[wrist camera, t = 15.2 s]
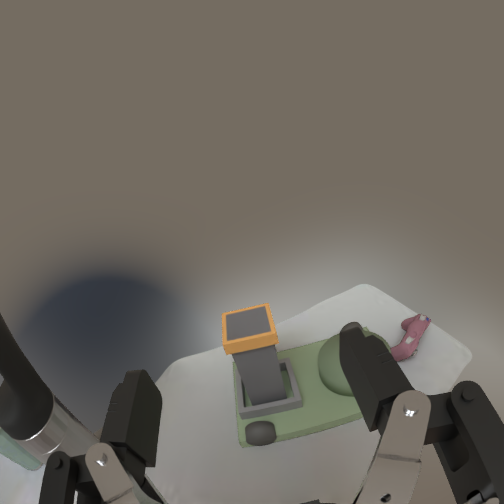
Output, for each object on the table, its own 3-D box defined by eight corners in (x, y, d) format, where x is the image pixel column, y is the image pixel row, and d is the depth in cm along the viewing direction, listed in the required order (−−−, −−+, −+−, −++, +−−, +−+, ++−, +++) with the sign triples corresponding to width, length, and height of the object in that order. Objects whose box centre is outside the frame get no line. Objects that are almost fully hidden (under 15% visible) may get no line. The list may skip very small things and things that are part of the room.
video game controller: (396, 373, 38) (419, 354, 33) (377, 357, 40) (398, 336, 35) (418, 337, 43) (438, 315, 38) (401, 322, 45) (420, 300, 40)
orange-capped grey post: (250, 411, 35) (222, 344, 29) (246, 381, 40) (221, 313, 35) (291, 402, 35) (276, 333, 29) (284, 373, 40) (268, 302, 35)
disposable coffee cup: (36, 431, 33) (-11, 379, 27) (61, 454, 29) (4, 401, 23) (12, 461, 24) (-40, 412, 18) (35, 490, 20) (-28, 441, 14)
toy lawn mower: (242, 448, 31) (233, 433, 29) (235, 368, 46) (228, 349, 44) (406, 400, 31) (412, 380, 29) (365, 334, 46) (366, 313, 44)
